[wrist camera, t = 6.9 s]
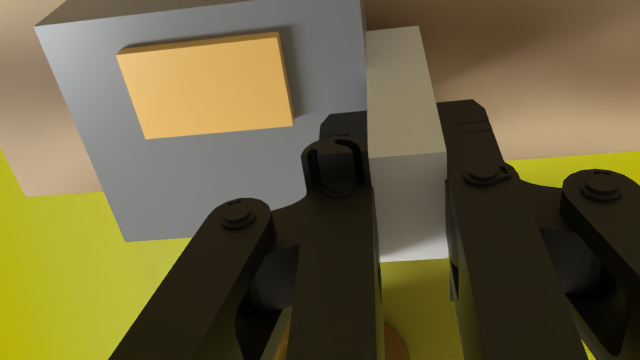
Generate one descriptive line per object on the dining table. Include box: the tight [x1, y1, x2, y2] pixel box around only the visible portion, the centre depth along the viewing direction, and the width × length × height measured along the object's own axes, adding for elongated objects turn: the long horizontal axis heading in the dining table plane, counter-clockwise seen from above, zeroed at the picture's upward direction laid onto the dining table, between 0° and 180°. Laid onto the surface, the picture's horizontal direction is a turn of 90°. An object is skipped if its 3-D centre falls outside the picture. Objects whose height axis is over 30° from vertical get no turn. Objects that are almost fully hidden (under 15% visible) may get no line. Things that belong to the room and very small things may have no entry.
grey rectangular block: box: [34, 0, 367, 242], centre depth 17 cm, size 7×8×4 cm
